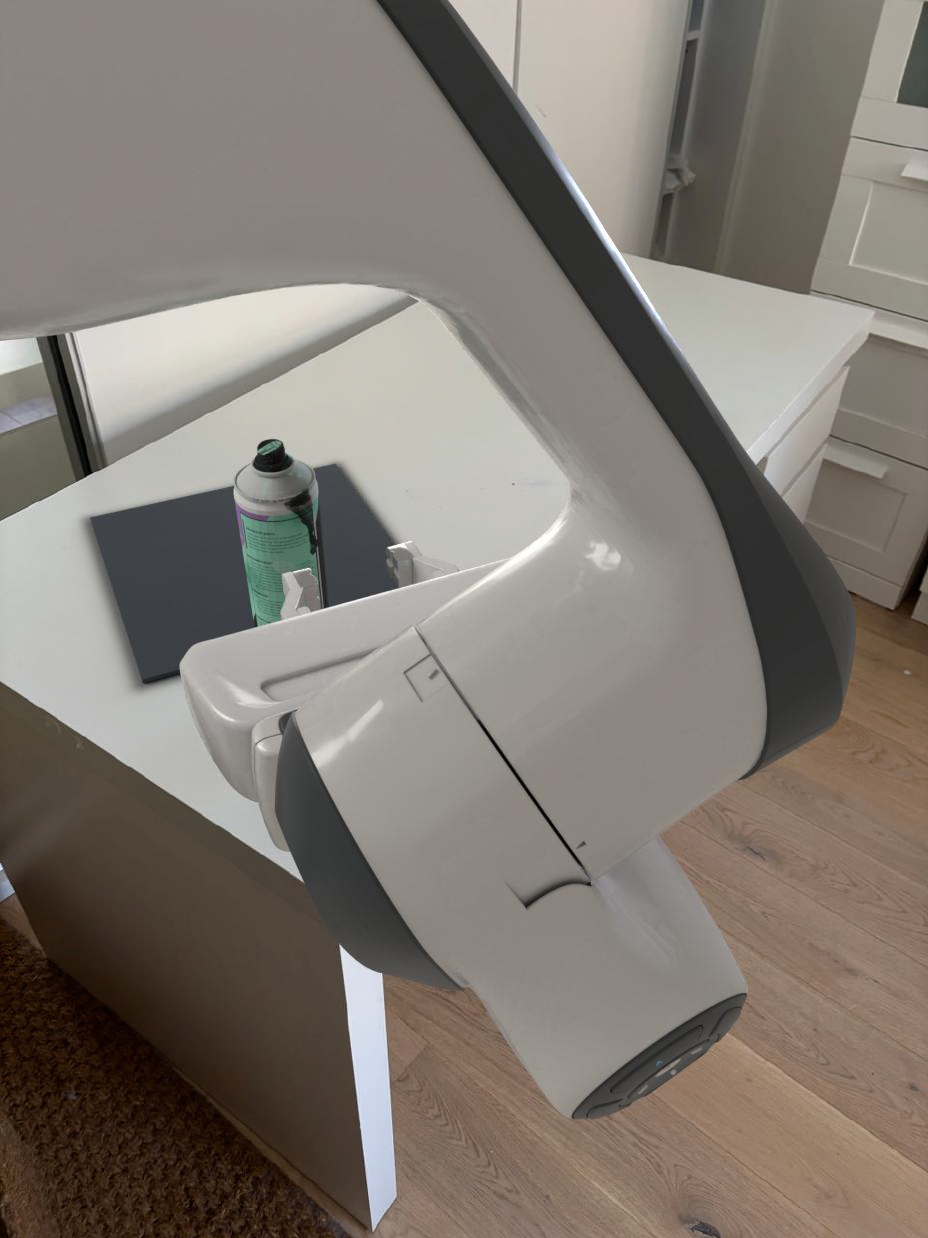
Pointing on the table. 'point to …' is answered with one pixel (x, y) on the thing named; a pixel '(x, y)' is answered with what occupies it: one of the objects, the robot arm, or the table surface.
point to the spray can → (278, 527)
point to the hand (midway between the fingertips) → (347, 566)
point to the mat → (220, 567)
